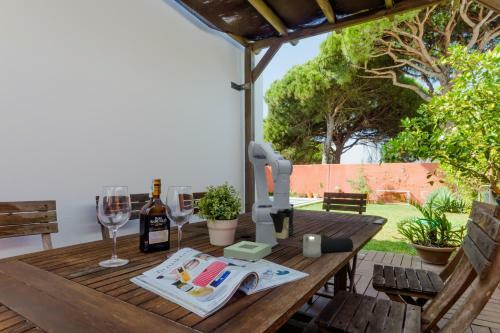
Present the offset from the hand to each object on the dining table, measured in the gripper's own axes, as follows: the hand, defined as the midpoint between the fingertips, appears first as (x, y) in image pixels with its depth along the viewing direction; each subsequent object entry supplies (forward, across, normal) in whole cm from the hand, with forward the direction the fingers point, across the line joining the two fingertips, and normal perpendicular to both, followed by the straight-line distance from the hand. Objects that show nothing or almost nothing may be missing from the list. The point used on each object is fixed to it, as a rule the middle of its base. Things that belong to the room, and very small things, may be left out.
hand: (281, 231), depth 107 cm
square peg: (+2, 0, 0) cm, 2 cm away
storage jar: (+9, +35, +13) cm, 38 cm away
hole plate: (+9, -4, +11) cm, 15 cm away
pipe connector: (+9, +20, -12) cm, 25 cm away
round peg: (+9, +8, -9) cm, 15 cm away
